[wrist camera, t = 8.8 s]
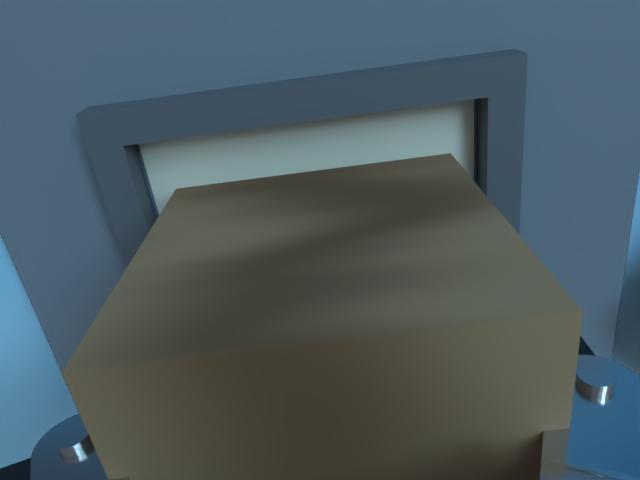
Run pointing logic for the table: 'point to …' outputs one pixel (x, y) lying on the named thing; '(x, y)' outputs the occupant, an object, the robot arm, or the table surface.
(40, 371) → the table surface
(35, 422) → the table surface
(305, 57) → the slate gray baseplate
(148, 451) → the walnut block
